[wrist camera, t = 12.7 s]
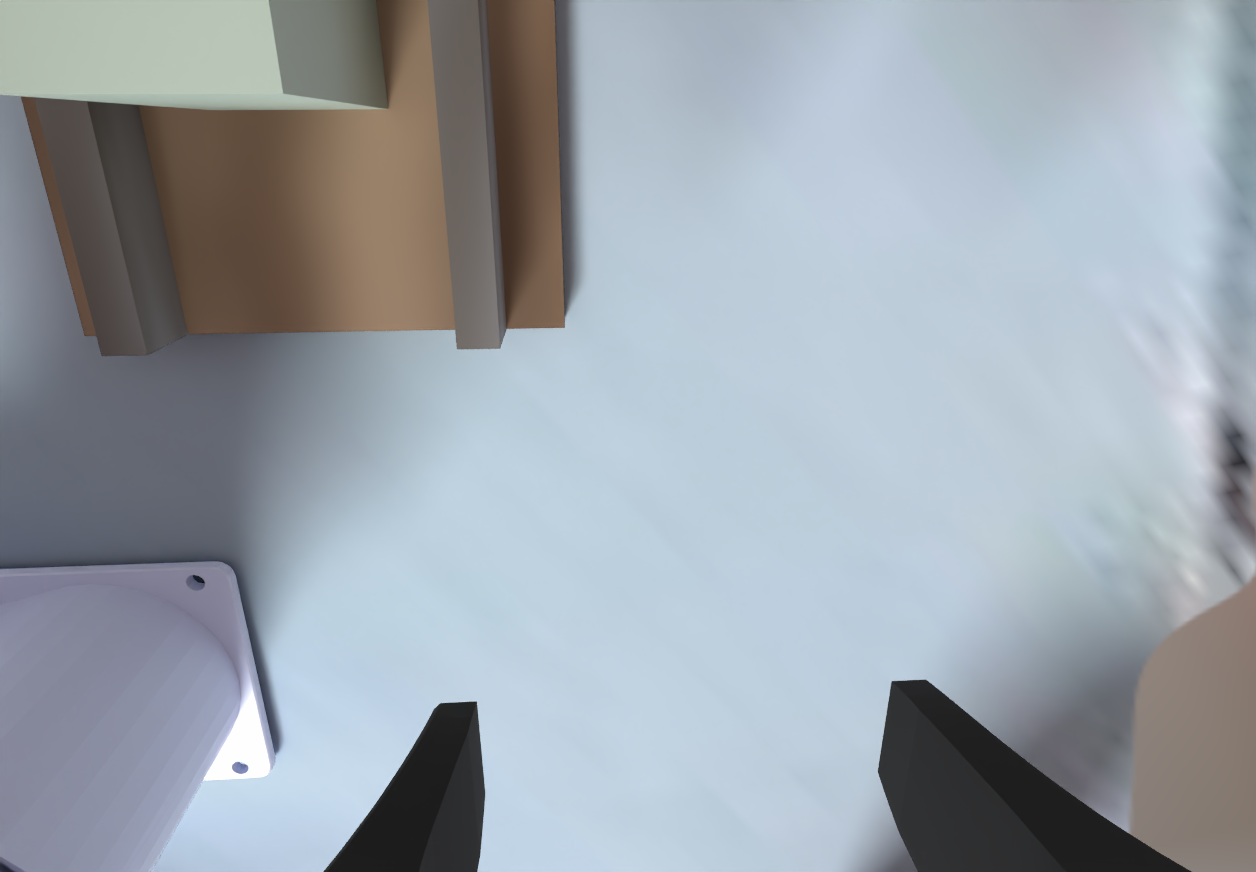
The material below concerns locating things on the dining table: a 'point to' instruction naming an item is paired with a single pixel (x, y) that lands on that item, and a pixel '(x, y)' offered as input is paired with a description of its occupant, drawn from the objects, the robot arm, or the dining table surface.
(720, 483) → the dining table surface
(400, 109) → the track
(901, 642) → the dining table surface
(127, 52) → the pale green block
